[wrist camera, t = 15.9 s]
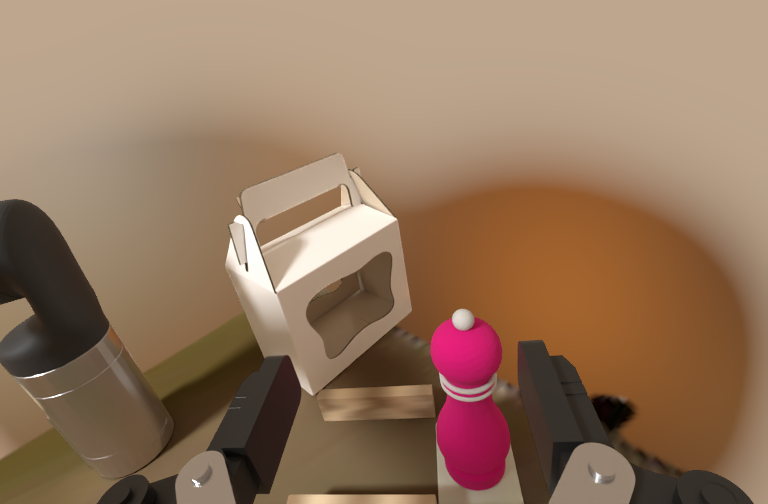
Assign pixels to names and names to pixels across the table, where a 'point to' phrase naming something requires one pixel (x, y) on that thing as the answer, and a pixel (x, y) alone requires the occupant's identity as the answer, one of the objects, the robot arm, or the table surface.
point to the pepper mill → (470, 401)
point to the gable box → (319, 271)
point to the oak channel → (371, 407)
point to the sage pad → (499, 500)
